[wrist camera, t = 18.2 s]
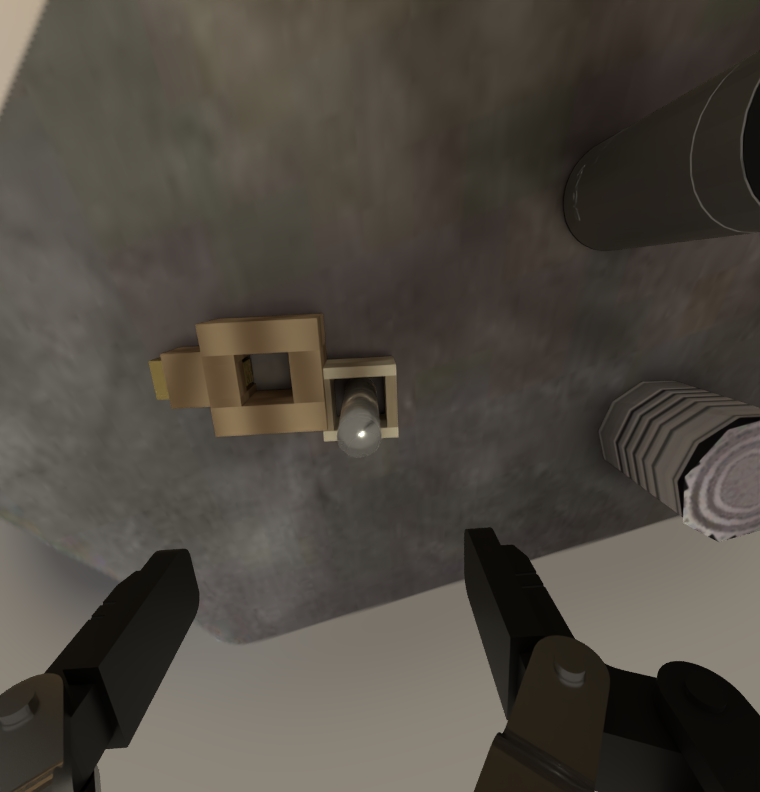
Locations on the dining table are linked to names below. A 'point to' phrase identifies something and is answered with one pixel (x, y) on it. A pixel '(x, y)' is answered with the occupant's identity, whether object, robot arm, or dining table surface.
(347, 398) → the rod
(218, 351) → the socket block
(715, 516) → the can
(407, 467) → the dining table surface
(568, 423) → the dining table surface
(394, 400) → the frame
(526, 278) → the dining table surface
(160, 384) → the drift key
